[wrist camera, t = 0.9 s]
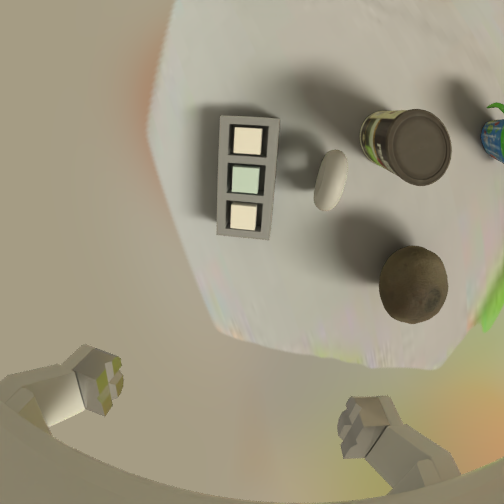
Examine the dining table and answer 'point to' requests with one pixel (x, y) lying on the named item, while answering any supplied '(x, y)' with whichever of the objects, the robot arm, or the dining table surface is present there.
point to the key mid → (245, 179)
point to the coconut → (413, 284)
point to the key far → (243, 215)
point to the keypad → (264, 161)
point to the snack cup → (494, 136)
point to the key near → (248, 140)
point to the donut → (330, 180)
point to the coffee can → (407, 144)
